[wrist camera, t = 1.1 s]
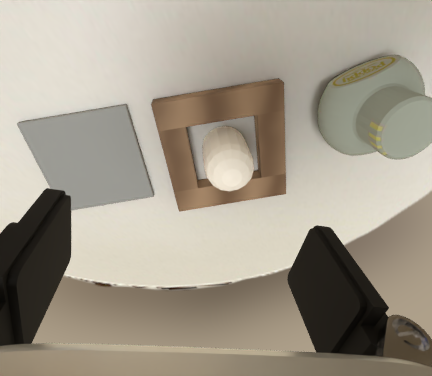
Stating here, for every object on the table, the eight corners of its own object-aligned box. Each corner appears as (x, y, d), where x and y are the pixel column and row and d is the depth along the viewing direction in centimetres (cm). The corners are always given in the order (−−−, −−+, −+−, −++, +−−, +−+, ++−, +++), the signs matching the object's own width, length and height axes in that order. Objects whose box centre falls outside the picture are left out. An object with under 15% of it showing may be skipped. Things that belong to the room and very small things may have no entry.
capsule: (225, 116, 34) (234, 143, 27) (254, 146, 36) (269, 178, 29) (193, 147, 35) (194, 179, 29) (222, 174, 38) (230, 209, 31)
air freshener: (319, 149, 37) (358, 190, 28) (301, 88, 33) (341, 116, 24) (405, 112, 35) (474, 144, 27) (398, 43, 31) (477, 55, 23)
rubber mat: (126, 103, 32) (125, 105, 32) (154, 194, 38) (153, 196, 38) (19, 122, 32) (16, 123, 32) (64, 209, 38) (62, 211, 38)
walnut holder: (278, 78, 32) (283, 82, 30) (281, 185, 39) (286, 193, 38) (153, 99, 32) (151, 104, 30) (179, 202, 39) (179, 211, 38)
